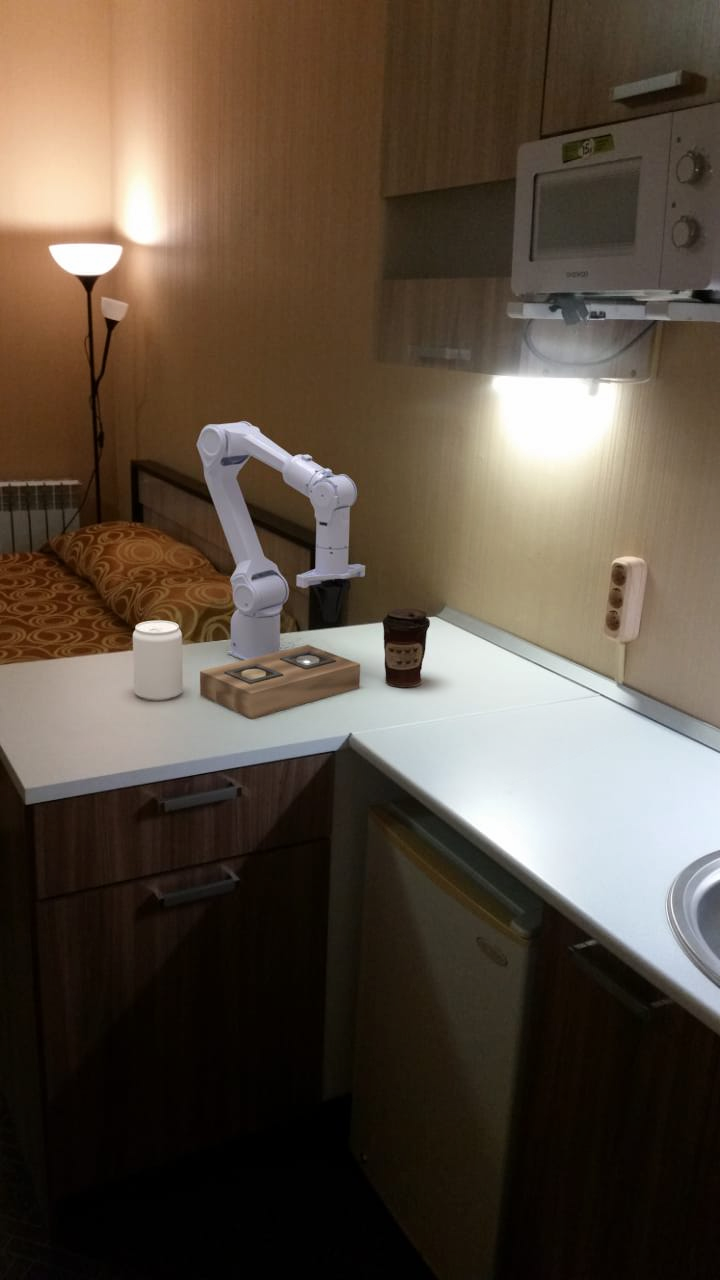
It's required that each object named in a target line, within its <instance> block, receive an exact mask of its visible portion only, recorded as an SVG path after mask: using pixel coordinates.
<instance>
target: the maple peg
mask: <svg viewBox="0 0 720 1280" xmlns="http://www.w3.org/2000/svg"><path fill="white" fill-rule="evenodd" d="M242 676H243V677H246V678H248V679H251V680H252V679H256V678H260V677H264V676H266V672H265V671H263V670H259V669H248V670H244V671H243V672H242Z"/></svg>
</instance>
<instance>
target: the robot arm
mask: <svg viewBox="0 0 720 1280" xmlns="http://www.w3.org/2000/svg"><path fill="white" fill-rule="evenodd" d="M196 447H197V450H198V453H199V456H200V459H201V462H202V464H203V475H204V479H205V483H206V485H207V488H208V492H209V494H210V497H211V500H212V502H213V505H214V508H215V510H216V513H217V516H218V519H219V521H220V525H221V527H222V531H223V533H224V536H225V537H226V540H227V544H228V546H229V549H230V552H231V554H232V558H233V561H234V563H235V565H236V567H235V570H234V571H233V573H232V575H231V577H230V579H229V582H230V584H231V587H232V600H233V603H234V605H235V607H236V610H234V613H232V616H231V619H230V650H227V651H226V654H228V655H229V656H232V657H235V658H237V659H240V660H241V661H243V660H247V659H251V658H256V657H260V656H264V655H268V654H272V653H276V652H280V651H281V611H282V610H283V605H284V604H285V603H286V602H287V600H288V599H289V595H290V594H289V593H290V588H289V585H288V581H287V579H286V578H285V577H284V576H283V575H282V573H281V571H280V570H279V568H278V565H277V564H276V563H275V562H273V561H272V560H270V559H269V558H267V557H266V556H265V555H264V552H263V548H262V546H261V543H260V541H259V537H258V535H257V532H256V529H255V526H254V523H253V521H252V518H251V515H250V512H249V509H248V507H247V504H246V502H245V499H244V496H243V493H242V490H241V488H240V484H239V482H238V480H237V477H238V474H239V472H240V470H242V468H243V467H244V466H245V464H246V463H247V462H248V460H249V459H250V458H251V457H253V458H255V459H256V460H257V461H260V462H262V463H264V464H266V465H268V466H269V467H271V468H273V469H275V470H277V471H278V472H280V473H281V474H282V479H283V481H284V483H285V484H287V485H288V486H290V487H292V488H293V489H295V490H296V491H297V492H299V493H301V494H302V495H304V496H305V497H307V498H309V501H310V503H311V506H312V507H313V510H314V518H315V520H316V521H315V522H316V526H315V527H316V532H315V534H316V535H315V566H314V567H315V568H314V569H311V570H309V571H306V572H303V573H301V574H296V587H299V588H302V589H307V588H308V587H309V586H311V588H312V589H313V590H314V592H315V595H316V596H317V599H318V602H319V604H320V607H321V611H322V618H323V621H325V622H327V623H335V622H337V621H338V617H339V615H340V611H341V608H342V605H343V602H344V600H345V598H346V596H347V594H348V592H349V591H350V589H351V588H352V586H351V585H352V583H351V582H350V581H348V580H347V579H350V578H356V577H360V578H362V577H365V576H366V565H364V564H363V565H362V564H361V563H355V564H349V543H350V541H349V540H350V519H351V518H350V516H351V515H350V514H351V513H350V512H351V511H350V510H351V507H352V506H353V505H354V504H355V502H356V500H357V496H358V491H357V486H356V484H355V482H354V481H353V480H352V479H351V478H350V477H349V476H348V475H347V474H344V473H341V474H334V473H332V472H333V471H332V470H331V469H330V468H328V467H327V468H324V467H323V466H321V465H319V464H318V463H316V462H315V461H314V460H313V457H312V456H311V455H309V454H296V455H294V456H293V455H291V454H290V453H289V452H288V451H286V450H285V449H283V448H282V447H281V446H280V445H278V444H276V442H274V441H272V440H271V439H270V438H268V437H267V436H265V435H264V434H263V433H262V432H261V430H260V428H259V427H257V426H256V425H255V426H254V425H253V424H252V423H250V422H248V421H245V420H241V421H239V422H230V423H228V422H227V423H221V424H220V423H219V424H215V423H213V424H212V423H211V424H206V425H205V426H204V427H203V428H202V430H201V431H200V434H199V437H198V440H197V442H196Z"/></svg>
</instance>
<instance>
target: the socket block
mask: <svg viewBox="0 0 720 1280" xmlns="http://www.w3.org/2000/svg"><path fill="white" fill-rule="evenodd" d="M300 656H315V657H318V658H319V662H318V663H314V664H310V665H304V664H301V663H299V662H297V658H298V657H300ZM248 669H259V670H263V671H265V672H266V676H264V677H260V678H256V679H252V680H251V679H248V678H246V677H243V676H242V672H243V671H244V670H248ZM360 675H361V664H360V663H358V662H356V661H353V660H350V659H349V658H345V657H341V656H339V655H337V654H335V653H332V652H330V651H329V652H328V651H326V650H322V649H321V648H317V647H314V646H312V645H310V644H306V645H302V646H297V647H292V648H289V649H284V650H280V652H276V653H272V654H268V655H264V656H260V657H256V658H251V659H247V660H240V661H235V662H231V663H227V664H223V665H219V666H215V667H211V668H206V669H203V670H202V669H201V670H200V671H199V686H200V687H199V692H200V693H199V696H200V695H201V696H200V697H202V696H203V698H204V699H207V700H209V701H212V702H213V703H216V704H218V705H220V706H222V707H224V708H226V709H228V710H230V711H233V712H235V713H237V714H239V715H242V716H243V717H246V718H248V719H251V720H253V719H257V718H261V717H263V716H266V715H269V714H273V713H277V712H280V711H283V710H288V709H291V708H295V707H297V706H301V705H304V704H307V703H312V702H315V701H319V700H322V699H325V698H329V697H332V696H336V695H338V694H342V693H346V692H350V691H352V690H356V689H359V688H360V683H361V681H360V680H361V679H360V678H361V677H360Z"/></svg>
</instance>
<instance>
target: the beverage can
mask: <svg viewBox="0 0 720 1280" xmlns="http://www.w3.org/2000/svg"><path fill="white" fill-rule="evenodd" d="M134 628H135V630H134V631H133V633H132V653H133V655H132V656H133V658H132V659H133V660H132V661H133V687H134V688H133V689H134V694H135V695H137V696H139V697H140V698H142V697H143V699H145V700H149V701H165V699H167V700H170V699H169V698H171V699H173V698H175V697H177V696H179V695H180V694H182V692H183V691H184V690H183V689H184V687H183V686H184V682H183V681H184V680H183V679H184V678H183V677H184V674H183V633H182V631H181V629H180V627H179V624H178V623H176V622H174V621H170V620H147V621H142V622H140V623H137V624H136V625H135V627H134ZM172 697H173V698H172Z"/></svg>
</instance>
